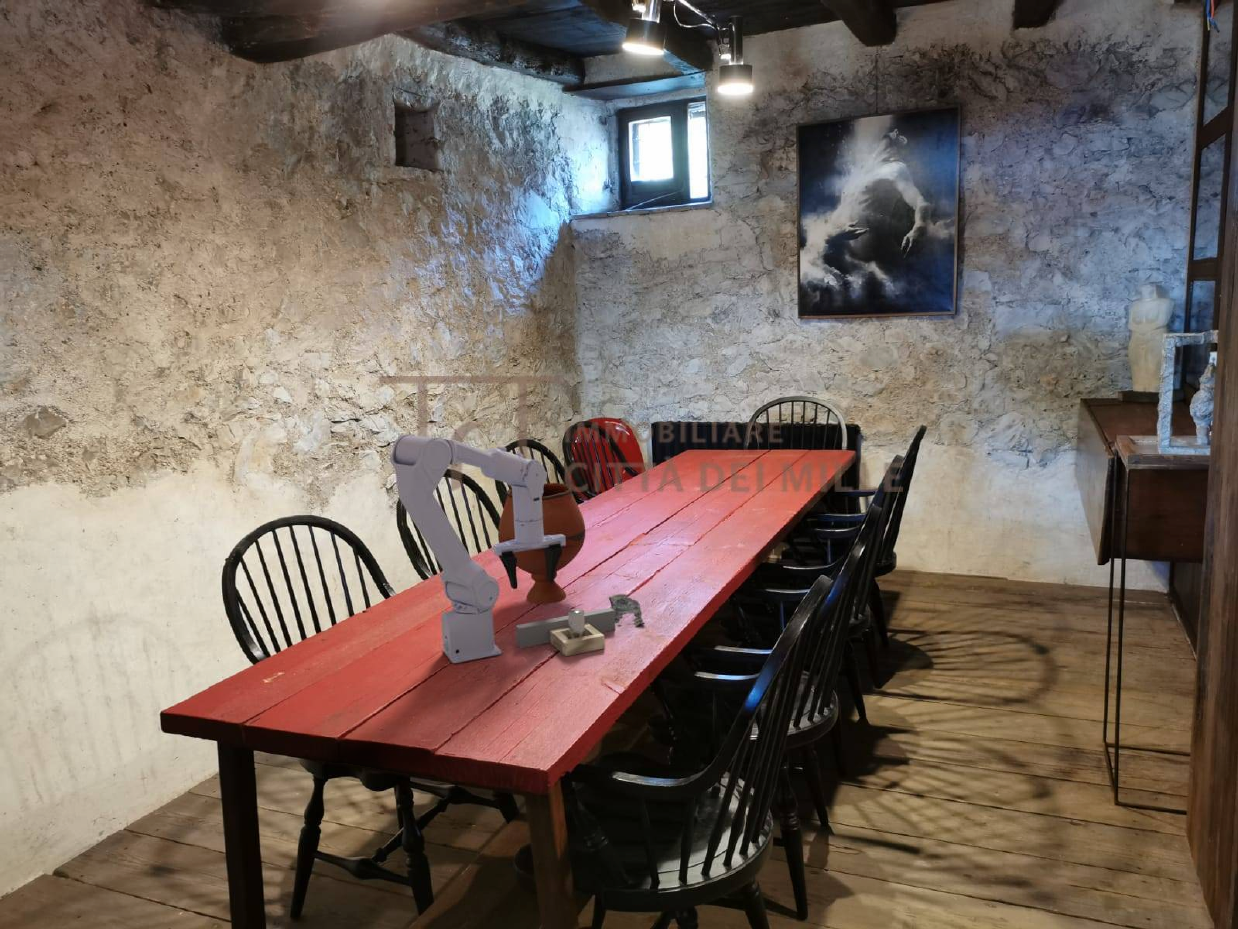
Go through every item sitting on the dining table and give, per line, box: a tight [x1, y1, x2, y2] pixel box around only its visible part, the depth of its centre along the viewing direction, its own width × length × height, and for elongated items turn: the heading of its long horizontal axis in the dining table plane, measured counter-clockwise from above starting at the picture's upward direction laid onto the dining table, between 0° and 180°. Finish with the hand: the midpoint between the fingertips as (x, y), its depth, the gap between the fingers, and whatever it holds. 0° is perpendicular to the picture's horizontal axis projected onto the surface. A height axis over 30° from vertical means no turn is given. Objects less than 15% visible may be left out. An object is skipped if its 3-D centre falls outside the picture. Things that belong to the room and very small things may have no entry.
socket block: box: [549, 623, 606, 657], centre depth 175 cm, size 8×8×2 cm
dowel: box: [567, 608, 585, 639], centre depth 175 cm, size 3×3×7 cm
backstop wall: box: [515, 607, 616, 649], centre depth 180 cm, size 20×2×4 cm, turn 115°
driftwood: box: [609, 593, 646, 628], centre depth 195 cm, size 21×7×2 cm, turn 2°
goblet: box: [497, 482, 586, 605], centre depth 203 cm, size 19×19×25 cm
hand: (532, 584), depth 184 cm, fingers open, 7 cm apart
